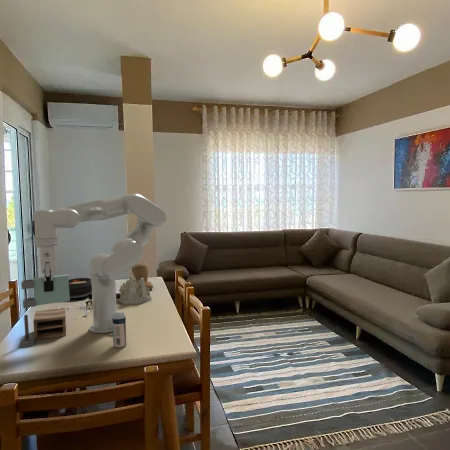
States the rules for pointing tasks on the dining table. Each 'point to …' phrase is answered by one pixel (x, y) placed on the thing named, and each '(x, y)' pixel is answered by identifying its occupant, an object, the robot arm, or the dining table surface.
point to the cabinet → (45, 326)
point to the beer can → (119, 330)
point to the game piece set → (80, 307)
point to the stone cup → (141, 273)
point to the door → (46, 297)
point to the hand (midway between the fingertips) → (49, 290)
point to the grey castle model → (134, 292)
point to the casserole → (80, 287)
